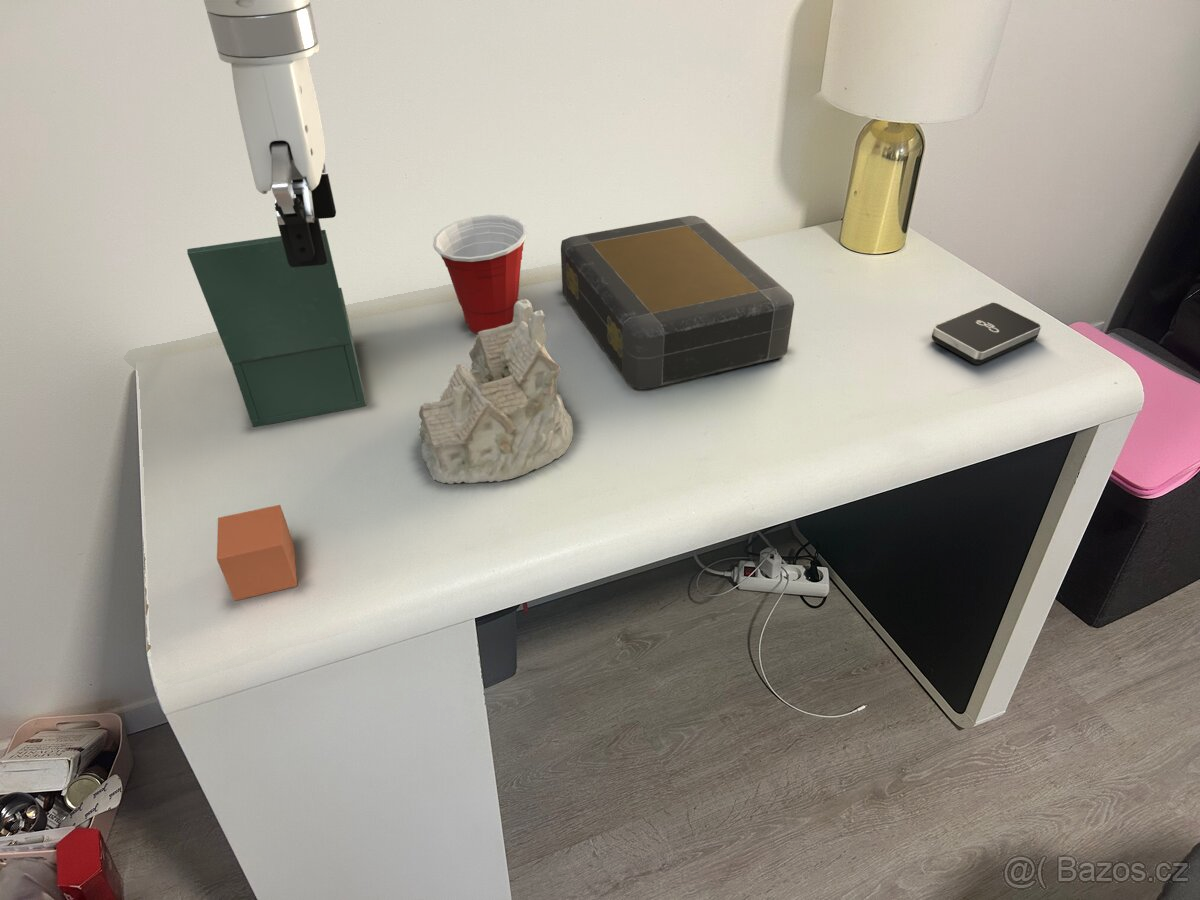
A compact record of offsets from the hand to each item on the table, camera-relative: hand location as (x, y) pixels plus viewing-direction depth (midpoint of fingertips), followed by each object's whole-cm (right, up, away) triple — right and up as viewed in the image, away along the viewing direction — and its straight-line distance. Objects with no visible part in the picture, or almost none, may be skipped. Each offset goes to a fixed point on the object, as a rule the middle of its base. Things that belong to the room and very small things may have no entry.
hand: (314, 239), depth 76 cm
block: (-3, -29, -4) cm, 30 cm away
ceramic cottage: (+15, -17, +11) cm, 25 cm away
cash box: (+34, -3, +28) cm, 44 cm away
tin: (-7, -12, +18) cm, 23 cm away
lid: (-5, -5, +3) cm, 7 cm away
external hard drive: (+71, -6, +24) cm, 75 cm away
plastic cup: (+12, -4, +28) cm, 31 cm away
